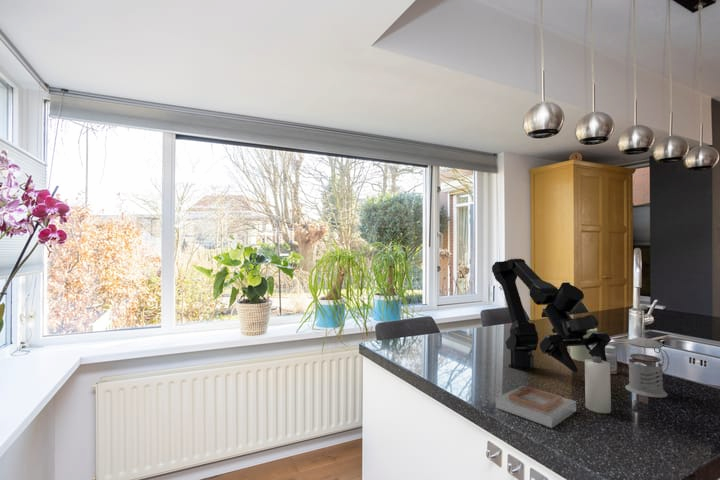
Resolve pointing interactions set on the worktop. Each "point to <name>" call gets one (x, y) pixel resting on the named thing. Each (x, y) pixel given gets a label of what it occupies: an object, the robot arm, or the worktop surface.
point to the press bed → (536, 405)
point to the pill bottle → (611, 358)
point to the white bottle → (597, 385)
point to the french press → (646, 368)
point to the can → (582, 349)
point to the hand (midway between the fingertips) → (592, 371)
